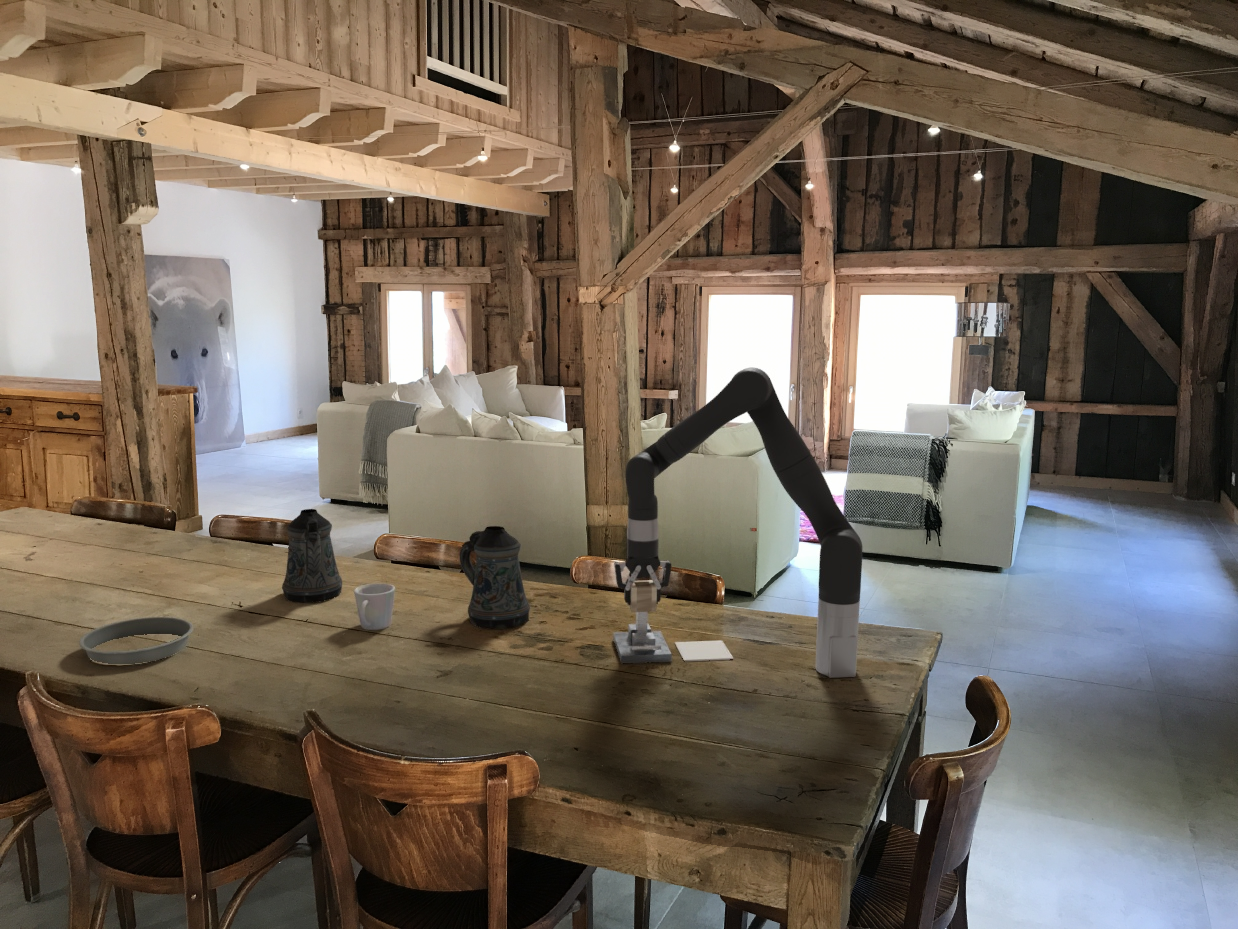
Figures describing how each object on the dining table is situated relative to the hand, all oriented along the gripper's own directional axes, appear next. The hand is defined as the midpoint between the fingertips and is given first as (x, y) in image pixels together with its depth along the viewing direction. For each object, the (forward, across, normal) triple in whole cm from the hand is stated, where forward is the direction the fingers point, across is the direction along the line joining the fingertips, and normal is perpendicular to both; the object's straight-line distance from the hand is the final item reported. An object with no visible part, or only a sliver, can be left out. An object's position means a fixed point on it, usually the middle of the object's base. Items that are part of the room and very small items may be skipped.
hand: (642, 603), depth 227 cm
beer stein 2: (+12, -36, +27) cm, 47 cm away
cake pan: (+12, -121, +13) cm, 122 cm away
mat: (+12, +15, -2) cm, 19 cm away
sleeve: (+1, 0, 0) cm, 1 cm away
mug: (+12, -67, +23) cm, 72 cm away
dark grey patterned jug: (+12, -87, +53) cm, 103 cm away
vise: (+12, 0, 0) cm, 12 cm away
